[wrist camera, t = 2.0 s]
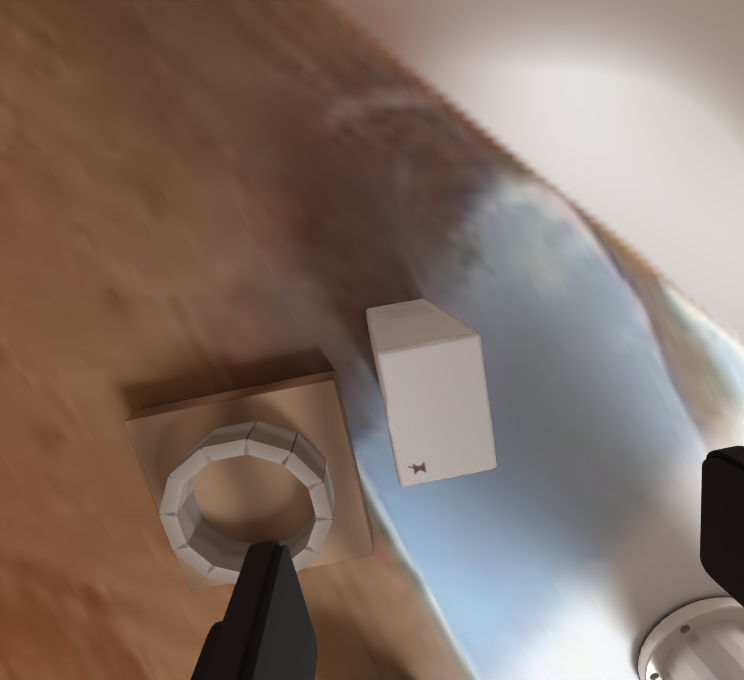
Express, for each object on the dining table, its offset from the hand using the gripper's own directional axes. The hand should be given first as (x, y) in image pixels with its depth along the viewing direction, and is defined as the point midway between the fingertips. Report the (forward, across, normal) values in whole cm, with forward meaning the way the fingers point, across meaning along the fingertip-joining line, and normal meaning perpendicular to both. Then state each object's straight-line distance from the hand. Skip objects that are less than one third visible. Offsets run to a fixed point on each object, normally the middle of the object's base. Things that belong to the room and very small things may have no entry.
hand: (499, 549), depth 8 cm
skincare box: (+19, 0, 0) cm, 19 cm away
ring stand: (+19, +12, +8) cm, 23 cm away
